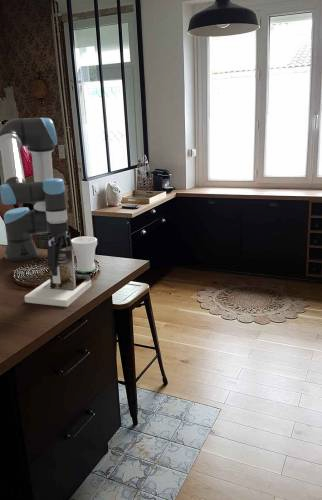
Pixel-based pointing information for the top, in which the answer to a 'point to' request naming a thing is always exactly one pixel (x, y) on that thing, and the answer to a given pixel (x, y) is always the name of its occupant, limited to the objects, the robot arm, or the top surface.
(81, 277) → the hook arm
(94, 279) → the top surface
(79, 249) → the cup
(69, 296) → the white rectangular frame
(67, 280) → the grey rectangular box
